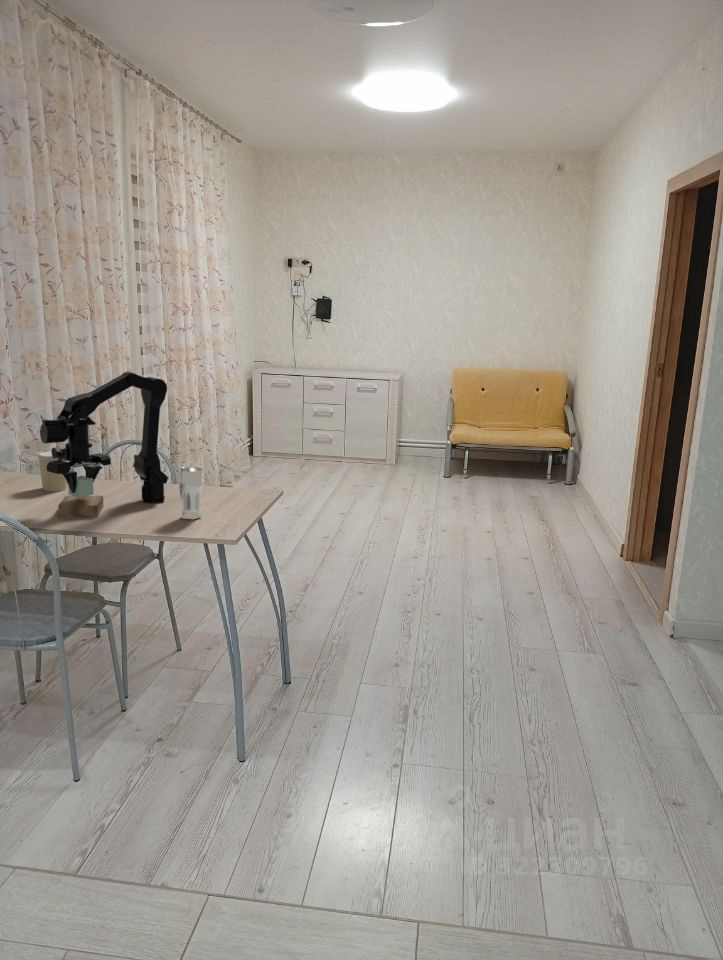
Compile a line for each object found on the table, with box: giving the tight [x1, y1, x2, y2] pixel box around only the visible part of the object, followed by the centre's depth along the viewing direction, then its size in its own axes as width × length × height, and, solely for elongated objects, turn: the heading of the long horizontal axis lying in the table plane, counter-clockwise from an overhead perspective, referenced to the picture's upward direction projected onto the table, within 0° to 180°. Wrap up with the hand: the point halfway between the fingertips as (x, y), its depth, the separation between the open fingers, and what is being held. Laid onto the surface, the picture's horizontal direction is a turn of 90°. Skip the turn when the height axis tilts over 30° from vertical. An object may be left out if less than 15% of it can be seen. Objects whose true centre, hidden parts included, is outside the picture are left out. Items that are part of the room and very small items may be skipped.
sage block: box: [67, 475, 94, 498], centre depth 226 cm, size 5×5×5 cm
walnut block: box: [57, 495, 104, 518], centre depth 228 cm, size 11×11×4 cm
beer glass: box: [178, 466, 204, 520], centre depth 226 cm, size 7×7×15 cm
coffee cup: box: [37, 450, 69, 492], centre depth 251 cm, size 9×9×12 cm
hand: (81, 491), depth 227 cm, fingers closed on sage block, 5 cm apart
